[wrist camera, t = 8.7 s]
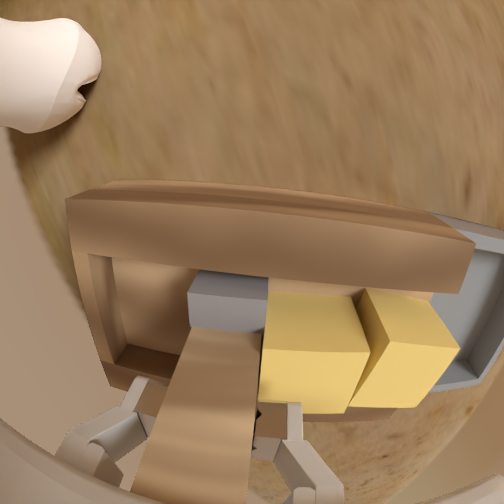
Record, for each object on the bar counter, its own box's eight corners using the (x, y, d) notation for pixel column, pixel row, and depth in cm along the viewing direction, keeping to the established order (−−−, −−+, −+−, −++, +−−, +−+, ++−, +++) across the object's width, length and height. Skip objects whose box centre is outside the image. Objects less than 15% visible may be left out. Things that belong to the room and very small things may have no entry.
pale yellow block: (268, 291, 13) (262, 348, 9) (350, 296, 13) (370, 352, 9) (263, 353, 15) (256, 410, 11) (334, 356, 14) (343, 413, 11)
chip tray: (428, 212, 14) (454, 228, 11) (521, 235, 13) (545, 251, 10) (374, 367, 18) (382, 396, 16) (466, 361, 18) (479, 384, 15)
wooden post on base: (202, 264, 13) (92, 495, 3) (268, 269, 12) (249, 534, 3) (206, 359, 15) (158, 535, 5) (259, 365, 15) (241, 550, 5)
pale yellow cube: (365, 287, 13) (390, 341, 9) (427, 300, 13) (460, 348, 9) (336, 349, 14) (347, 406, 11) (396, 356, 14) (415, 407, 10)
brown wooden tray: (119, 179, 15) (65, 199, 10) (428, 212, 14) (476, 243, 9) (138, 340, 19) (110, 385, 15) (374, 367, 18) (388, 419, 14)
